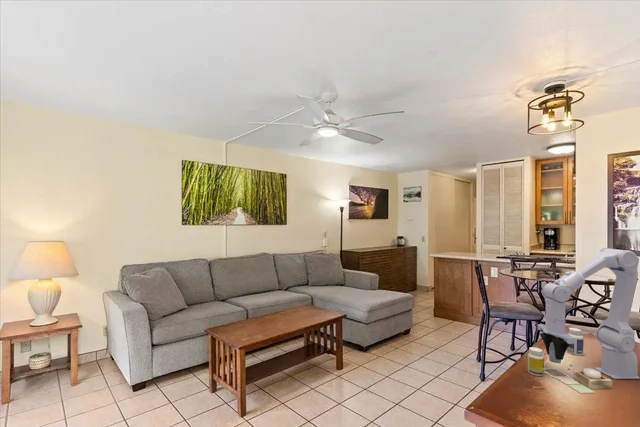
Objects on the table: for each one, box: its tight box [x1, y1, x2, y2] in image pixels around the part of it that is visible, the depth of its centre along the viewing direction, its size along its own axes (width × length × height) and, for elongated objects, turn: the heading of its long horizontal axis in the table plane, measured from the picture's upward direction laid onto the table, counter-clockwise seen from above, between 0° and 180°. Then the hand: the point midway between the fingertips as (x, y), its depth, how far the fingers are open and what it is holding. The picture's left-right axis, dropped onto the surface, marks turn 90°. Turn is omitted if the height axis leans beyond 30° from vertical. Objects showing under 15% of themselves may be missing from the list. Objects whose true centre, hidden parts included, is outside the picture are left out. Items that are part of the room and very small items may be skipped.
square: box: [555, 376, 581, 385], centre depth 112 cm, size 5×5×1 cm
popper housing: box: [572, 370, 613, 390], centre depth 111 cm, size 7×7×3 cm
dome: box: [583, 367, 602, 379], centre depth 111 cm, size 4×4×3 cm
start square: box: [544, 367, 571, 379], centre depth 118 cm, size 6×6×1 cm
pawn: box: [548, 342, 562, 364], centre depth 118 cm, size 3×3×7 cm
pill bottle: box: [566, 327, 585, 356], centre depth 136 cm, size 5×5×10 cm
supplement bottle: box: [527, 346, 545, 377], centre depth 117 cm, size 5×5×8 cm
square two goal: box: [567, 383, 596, 394], centre depth 107 cm, size 5×5×1 cm
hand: (555, 356), depth 118 cm, fingers closed on pawn, 3 cm apart
